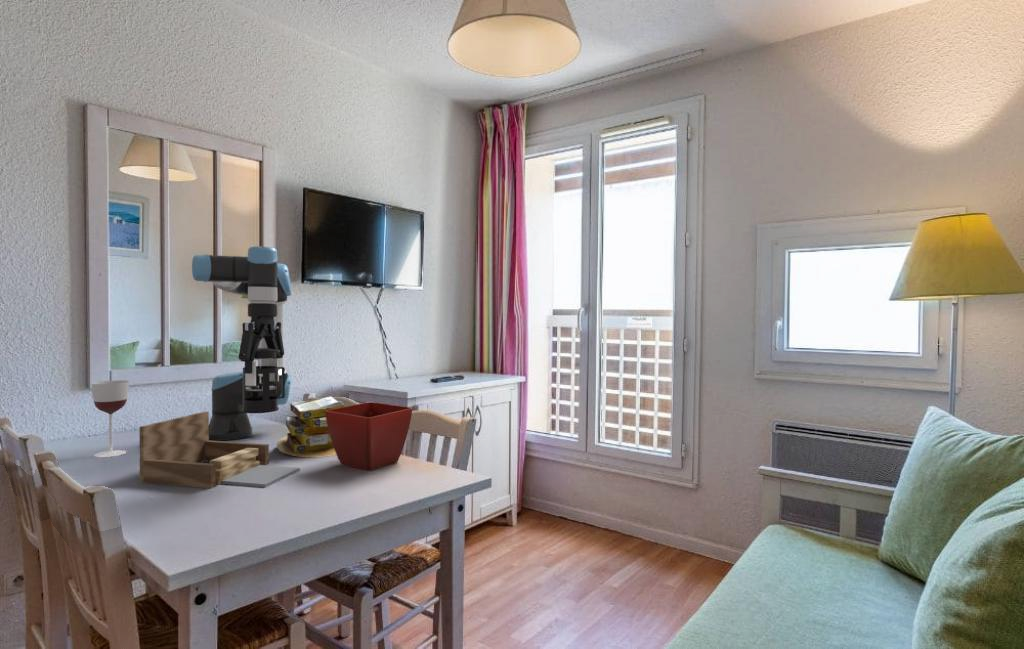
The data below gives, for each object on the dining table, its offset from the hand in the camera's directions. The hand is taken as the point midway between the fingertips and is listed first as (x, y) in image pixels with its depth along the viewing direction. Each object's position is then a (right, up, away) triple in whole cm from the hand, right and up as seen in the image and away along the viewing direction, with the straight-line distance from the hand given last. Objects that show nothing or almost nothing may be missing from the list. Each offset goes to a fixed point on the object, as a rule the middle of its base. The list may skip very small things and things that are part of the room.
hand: (262, 383), depth 156 cm
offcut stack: (-9, -26, +2) cm, 28 cm away
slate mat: (0, -26, +1) cm, 26 cm away
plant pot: (+26, -26, +16) cm, 40 cm away
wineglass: (-59, -25, +24) cm, 69 cm away
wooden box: (-17, -26, +4) cm, 32 cm away
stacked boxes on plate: (+3, -26, +34) cm, 43 cm away
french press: (0, -8, 0) cm, 8 cm away
